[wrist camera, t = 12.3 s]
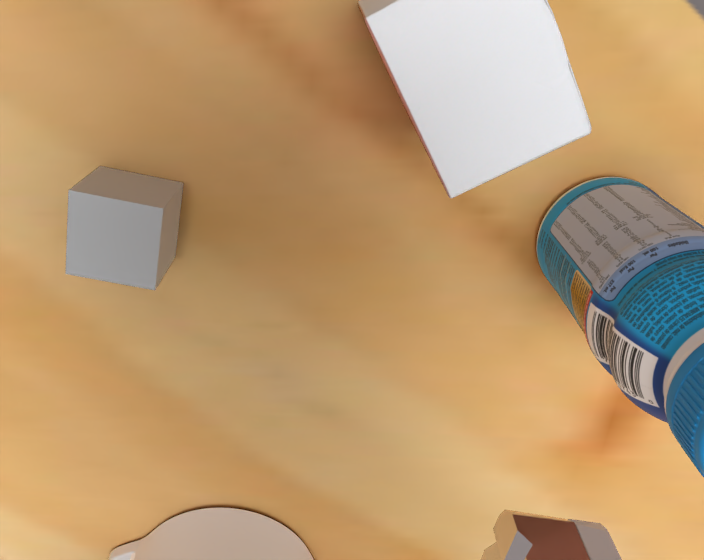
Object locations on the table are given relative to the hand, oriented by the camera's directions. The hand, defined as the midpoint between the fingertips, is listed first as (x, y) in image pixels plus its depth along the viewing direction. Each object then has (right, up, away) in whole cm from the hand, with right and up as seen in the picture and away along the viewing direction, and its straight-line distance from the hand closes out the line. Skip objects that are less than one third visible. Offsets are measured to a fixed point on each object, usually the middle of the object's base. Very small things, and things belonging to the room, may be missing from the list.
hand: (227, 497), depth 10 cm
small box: (+7, +17, +27) cm, 32 cm away
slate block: (-11, +7, +31) cm, 34 cm away
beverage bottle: (+17, +6, +32) cm, 37 cm away
